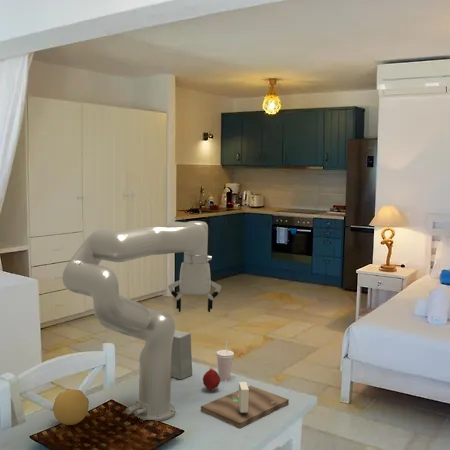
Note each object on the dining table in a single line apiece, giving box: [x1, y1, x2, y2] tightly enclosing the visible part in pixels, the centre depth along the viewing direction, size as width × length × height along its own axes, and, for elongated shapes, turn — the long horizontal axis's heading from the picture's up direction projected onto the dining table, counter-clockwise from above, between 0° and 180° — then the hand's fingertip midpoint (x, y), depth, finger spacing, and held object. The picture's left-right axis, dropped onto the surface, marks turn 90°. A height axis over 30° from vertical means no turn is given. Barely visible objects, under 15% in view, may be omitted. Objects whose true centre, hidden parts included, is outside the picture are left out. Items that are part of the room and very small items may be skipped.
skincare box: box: [171, 329, 193, 380], centre depth 198 cm, size 8×7×16 cm
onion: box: [202, 367, 221, 391], centre depth 186 cm, size 6×6×8 cm
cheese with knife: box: [238, 381, 249, 414], centre depth 169 cm, size 14×3×8 cm, turn 5°
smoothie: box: [215, 340, 235, 381], centre depth 196 cm, size 6×6×14 cm
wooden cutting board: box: [200, 385, 290, 429], centre depth 173 cm, size 24×16×2 cm, turn 138°
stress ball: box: [52, 388, 90, 426], centre depth 158 cm, size 10×10×10 cm
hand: (194, 311), depth 179 cm, fingers open, 9 cm apart
